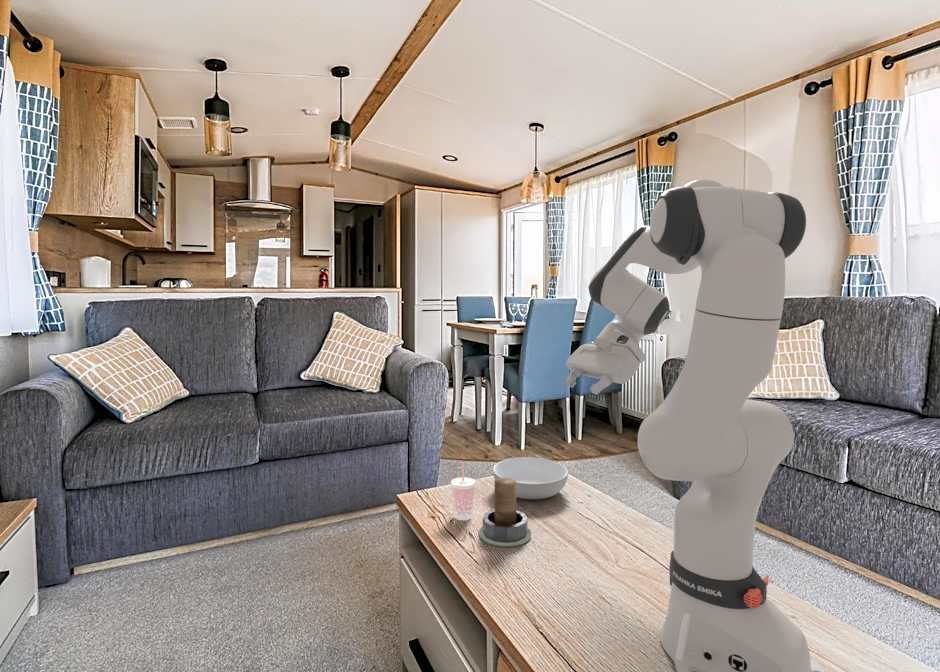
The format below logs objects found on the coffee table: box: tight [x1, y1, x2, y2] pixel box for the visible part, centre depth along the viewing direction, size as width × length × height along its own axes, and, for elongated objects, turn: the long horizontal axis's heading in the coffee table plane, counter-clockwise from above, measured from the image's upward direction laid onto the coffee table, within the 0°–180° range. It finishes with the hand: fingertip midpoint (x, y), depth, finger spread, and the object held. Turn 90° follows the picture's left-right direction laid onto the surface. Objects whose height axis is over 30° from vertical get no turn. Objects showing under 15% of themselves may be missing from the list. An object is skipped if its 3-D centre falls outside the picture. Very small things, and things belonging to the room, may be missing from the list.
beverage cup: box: [450, 461, 476, 521], centre depth 128 cm, size 6×6×14 cm
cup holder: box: [478, 508, 532, 548], centre depth 119 cm, size 12×12×4 cm
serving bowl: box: [492, 456, 569, 500], centre depth 144 cm, size 21×21×7 cm
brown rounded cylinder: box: [494, 478, 517, 526], centre depth 118 cm, size 5×5×12 cm
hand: (580, 388), depth 120 cm, fingers open, 8 cm apart
